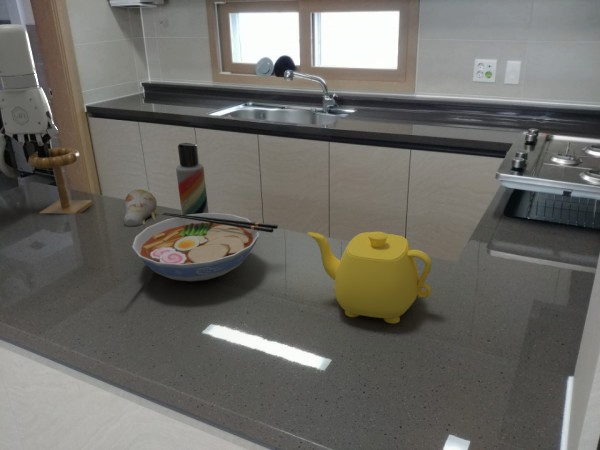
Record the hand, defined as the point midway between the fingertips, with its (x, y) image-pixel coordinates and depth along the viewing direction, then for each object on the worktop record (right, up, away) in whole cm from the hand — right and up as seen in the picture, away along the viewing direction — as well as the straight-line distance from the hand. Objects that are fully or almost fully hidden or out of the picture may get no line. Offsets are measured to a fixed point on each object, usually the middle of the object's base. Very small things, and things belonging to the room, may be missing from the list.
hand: (38, 160), depth 128 cm
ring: (+4, 0, -1) cm, 4 cm away
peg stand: (+5, -12, +5) cm, 14 cm away
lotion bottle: (+40, -17, -11) cm, 45 cm away
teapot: (+74, -29, -41) cm, 89 cm away
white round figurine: (+26, -15, -4) cm, 30 cm away
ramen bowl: (+44, -24, -28) cm, 58 cm away
